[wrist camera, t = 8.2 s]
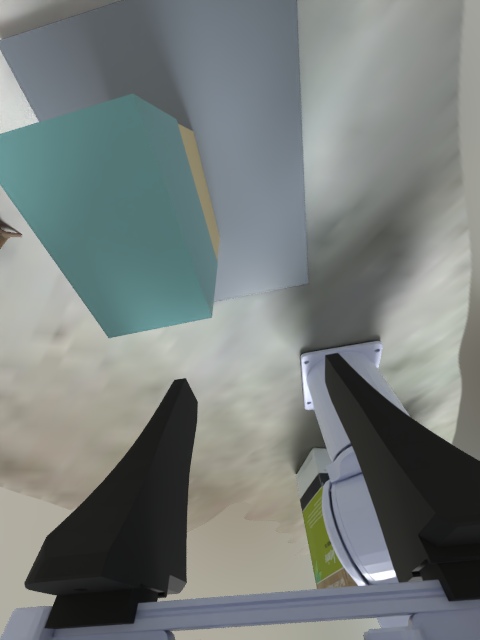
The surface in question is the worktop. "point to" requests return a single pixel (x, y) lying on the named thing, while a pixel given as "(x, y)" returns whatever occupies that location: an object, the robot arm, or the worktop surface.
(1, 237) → the fruit
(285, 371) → the worktop surface
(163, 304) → the teal brick
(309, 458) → the tea box
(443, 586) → the robot arm
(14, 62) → the baseplate
